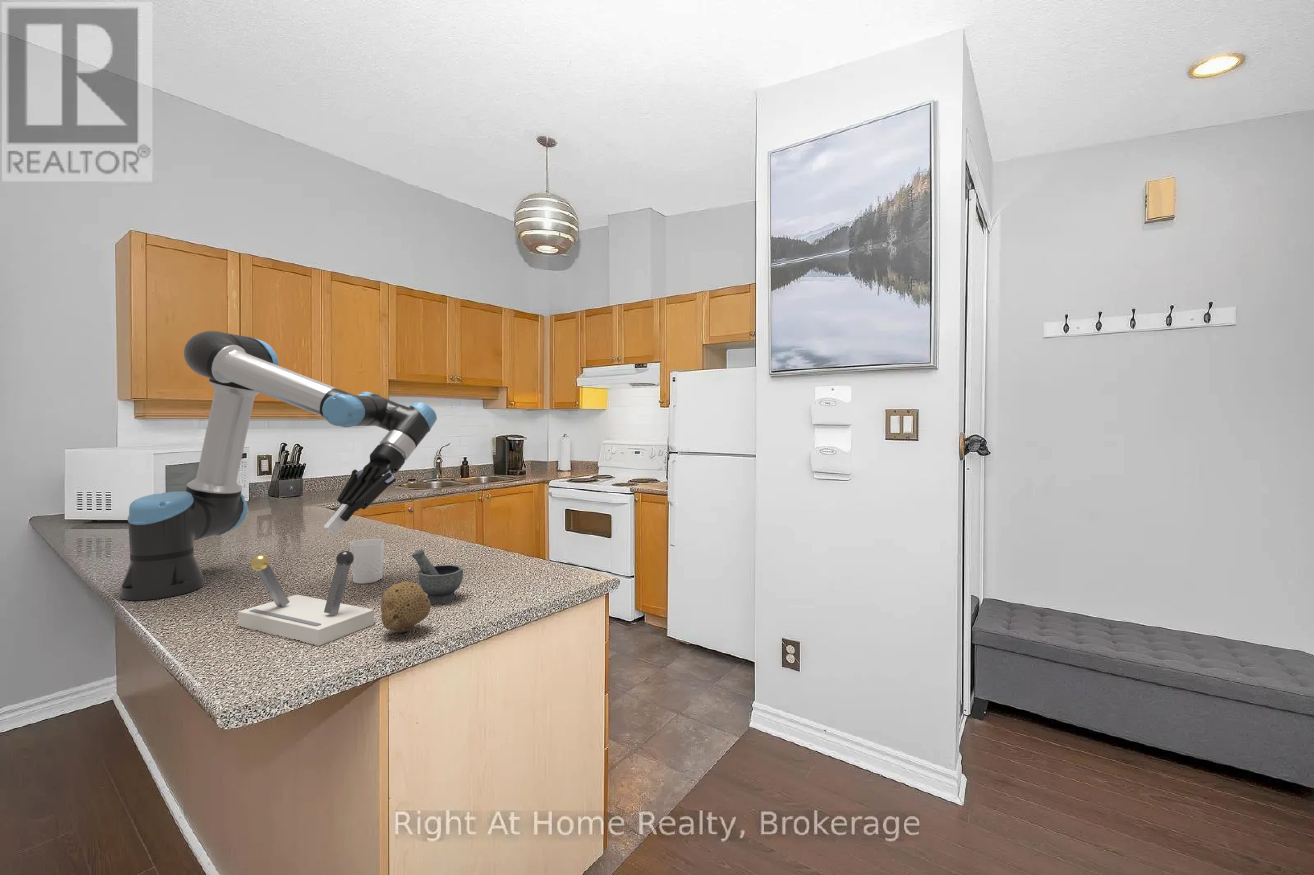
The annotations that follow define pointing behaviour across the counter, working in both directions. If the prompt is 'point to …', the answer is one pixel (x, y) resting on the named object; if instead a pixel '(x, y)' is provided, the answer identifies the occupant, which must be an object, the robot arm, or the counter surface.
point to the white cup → (367, 560)
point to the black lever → (338, 581)
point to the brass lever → (269, 579)
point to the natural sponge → (404, 606)
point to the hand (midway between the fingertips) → (329, 530)
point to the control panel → (306, 620)
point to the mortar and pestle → (438, 579)
